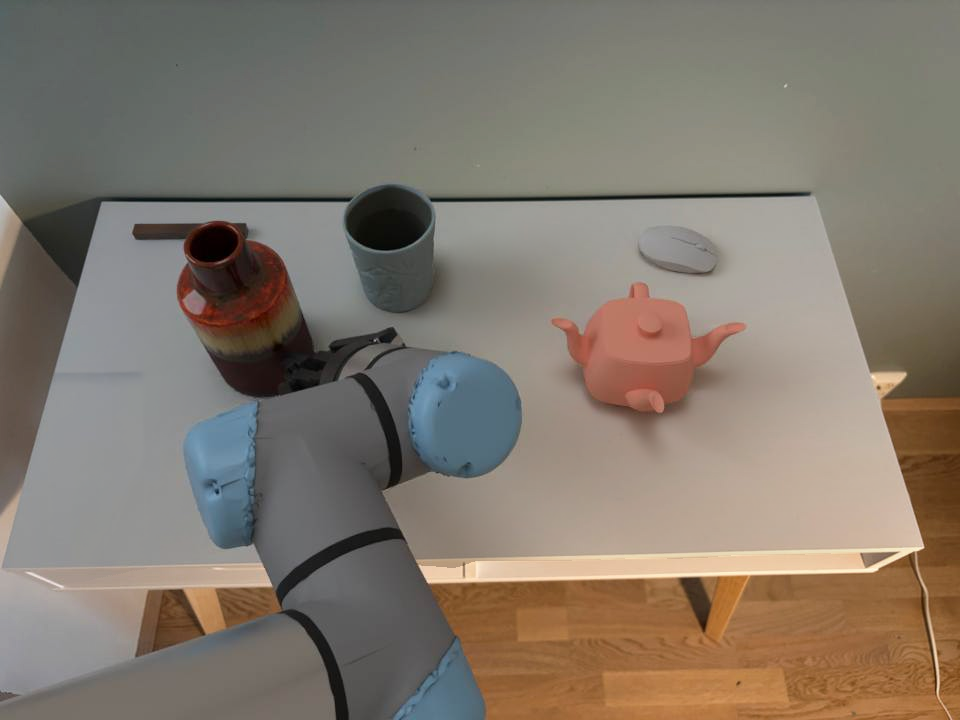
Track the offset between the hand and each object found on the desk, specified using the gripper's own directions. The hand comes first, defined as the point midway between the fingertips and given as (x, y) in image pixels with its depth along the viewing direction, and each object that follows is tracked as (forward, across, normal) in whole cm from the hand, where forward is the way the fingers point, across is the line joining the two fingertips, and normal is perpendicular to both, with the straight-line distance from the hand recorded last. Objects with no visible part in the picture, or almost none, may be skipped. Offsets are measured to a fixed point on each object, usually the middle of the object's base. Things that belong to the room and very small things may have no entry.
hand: (292, 366), depth 77 cm
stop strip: (+24, +4, +16) cm, 29 cm away
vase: (+9, 0, 0) cm, 9 cm away
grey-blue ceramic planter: (+7, +18, -2) cm, 19 cm away
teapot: (-14, +27, -22) cm, 37 cm away
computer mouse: (-8, +45, -17) cm, 49 cm away
